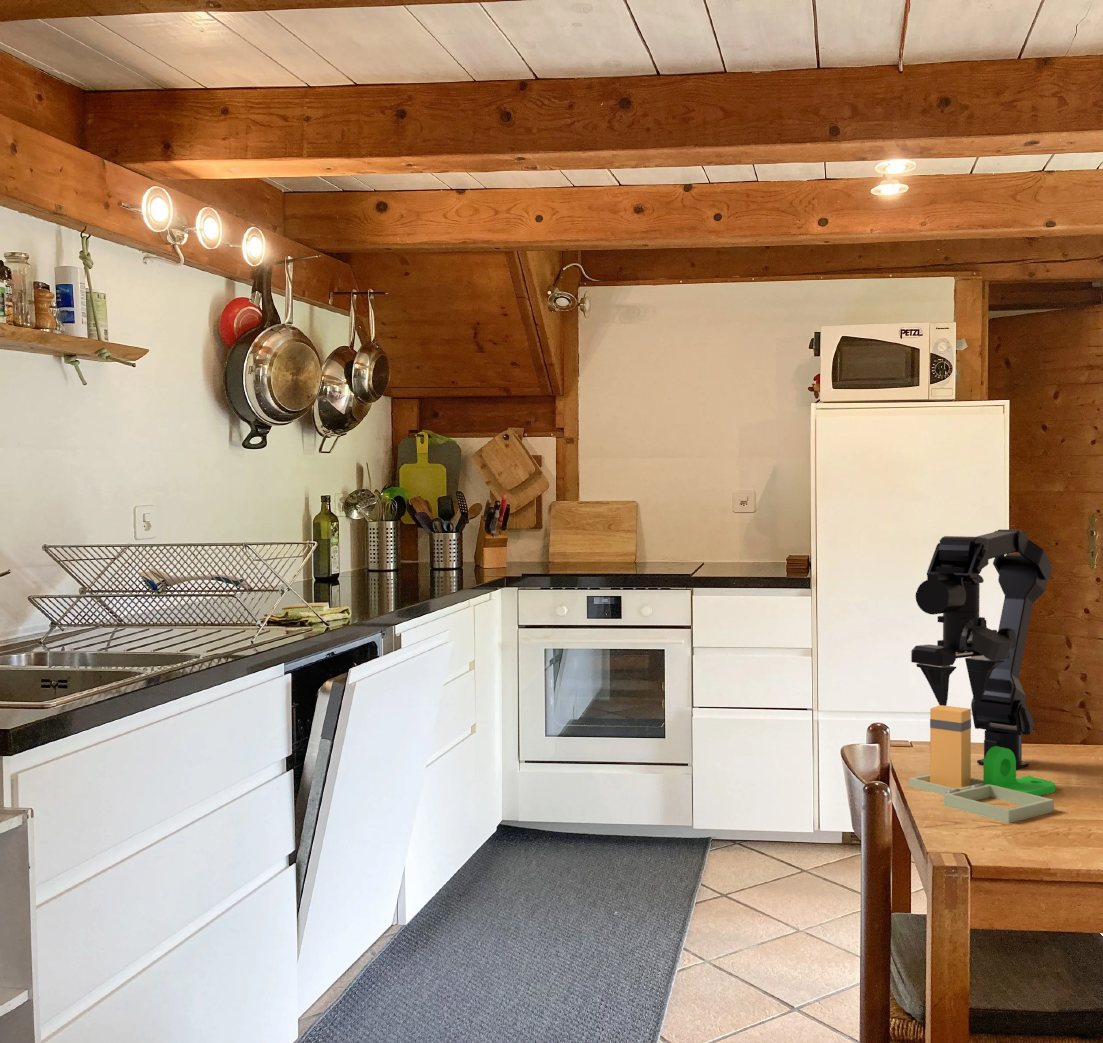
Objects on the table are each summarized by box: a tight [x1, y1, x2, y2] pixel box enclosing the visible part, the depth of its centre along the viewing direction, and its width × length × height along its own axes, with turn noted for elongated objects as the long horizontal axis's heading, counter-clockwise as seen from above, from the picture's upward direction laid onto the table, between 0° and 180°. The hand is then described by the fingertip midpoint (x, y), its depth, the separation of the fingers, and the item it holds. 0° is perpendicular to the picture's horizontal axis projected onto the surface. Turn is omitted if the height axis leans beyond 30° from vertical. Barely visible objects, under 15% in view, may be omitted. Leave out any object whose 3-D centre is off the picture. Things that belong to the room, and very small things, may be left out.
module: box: [929, 704, 972, 789], centre depth 174 cm, size 4×5×13 cm
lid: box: [908, 773, 983, 796], centre depth 174 cm, size 9×9×2 cm
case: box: [943, 783, 1055, 824], centre depth 162 cm, size 11×12×3 cm
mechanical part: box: [982, 746, 1056, 797], centre depth 172 cm, size 12×6×8 cm, turn 123°
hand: (960, 703), depth 181 cm, fingers open, 9 cm apart
